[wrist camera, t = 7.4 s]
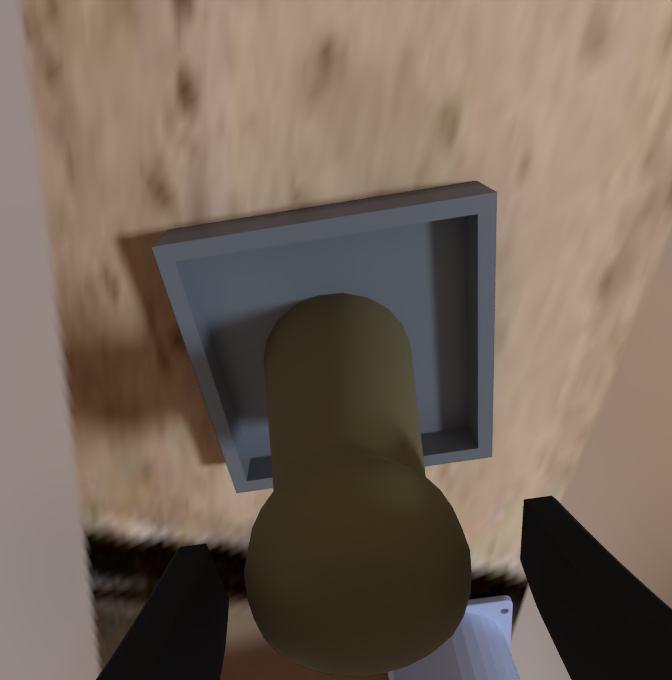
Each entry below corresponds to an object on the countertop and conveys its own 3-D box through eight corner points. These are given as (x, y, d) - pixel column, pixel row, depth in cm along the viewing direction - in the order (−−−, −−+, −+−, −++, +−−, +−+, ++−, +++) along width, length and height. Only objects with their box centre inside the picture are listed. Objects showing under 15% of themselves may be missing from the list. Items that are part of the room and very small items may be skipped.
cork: (262, 289, 18) (201, 539, 8) (421, 295, 18) (549, 539, 8) (264, 418, 20) (221, 718, 11) (401, 421, 21) (479, 712, 11)
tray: (477, 427, 22) (491, 456, 20) (242, 461, 22) (236, 493, 20) (477, 181, 17) (496, 192, 15) (167, 230, 17) (151, 246, 15)
